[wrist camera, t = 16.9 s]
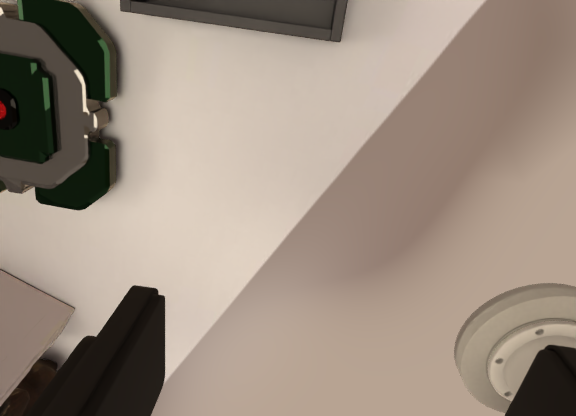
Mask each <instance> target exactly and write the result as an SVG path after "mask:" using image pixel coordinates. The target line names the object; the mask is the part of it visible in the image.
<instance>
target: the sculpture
mask: <svg viewBox="0 0 576 416" xmlns="http://www.w3.org/2000/svg"><path fill="white" fill-rule="evenodd" d="M56 369H57V364H56V363H55V362H54V361H52V360H45V359H38V360H37V361H36V362H35V363H34V364H33V366H32V367H31V369H30V371H29V372H28V373H27V375H26V376H25V377H24V378H23V379H22V381H21V382H20V383H19V384H18V386H17V387H16V388H15V389H14V390H13V392H12V393H11V394H10V395H9V397H8V398H7V399H6V400H5V401H4V403H3V404H2V405H1V406H0V416H25V415H26V414H27V413H28V411H29V410H30V409H31V407H32V406H33V405H34V403H35V402H36V400H37V399H38V398H39V396H40V395H41V394H42V392H43V391H44V390H45V388H46V387H47V386H48V384H49V383H50V382H51V380H52V379H53V378H54V376H55V375H56V373H57V372H56Z"/></svg>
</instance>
